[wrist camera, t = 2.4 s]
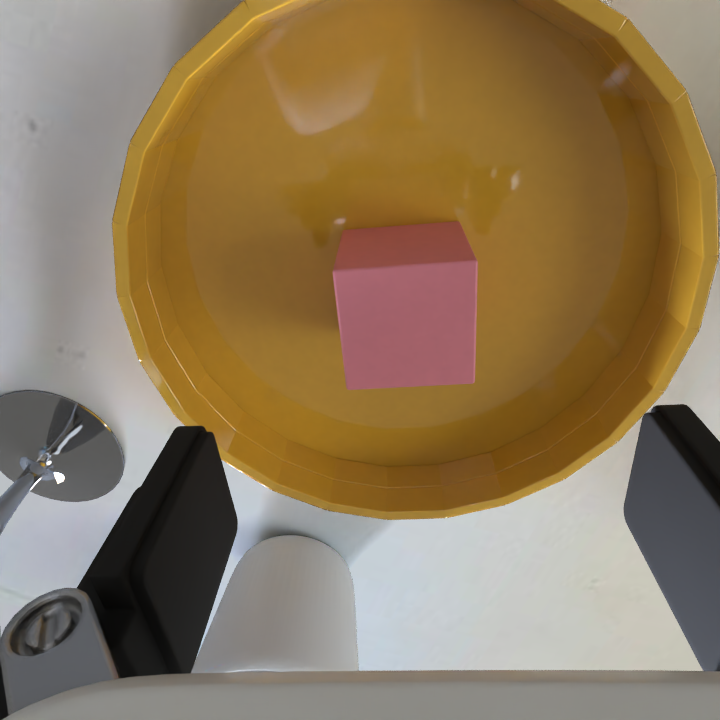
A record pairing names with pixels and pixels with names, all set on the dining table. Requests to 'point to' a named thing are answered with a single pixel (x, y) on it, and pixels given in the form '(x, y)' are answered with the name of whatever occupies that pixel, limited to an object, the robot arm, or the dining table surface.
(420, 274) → the block
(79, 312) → the dining table surface
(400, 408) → the yellow bowl
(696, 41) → the dining table surface
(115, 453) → the wine glass
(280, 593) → the cup
